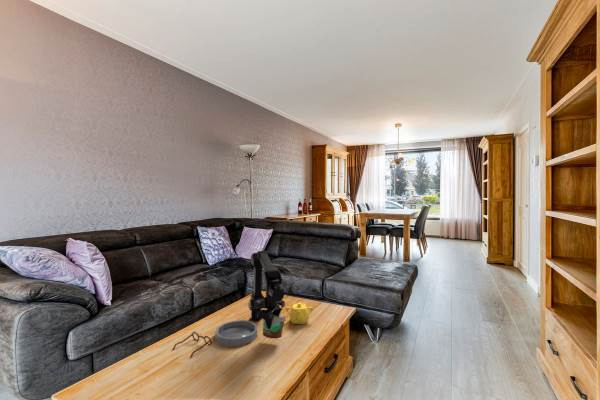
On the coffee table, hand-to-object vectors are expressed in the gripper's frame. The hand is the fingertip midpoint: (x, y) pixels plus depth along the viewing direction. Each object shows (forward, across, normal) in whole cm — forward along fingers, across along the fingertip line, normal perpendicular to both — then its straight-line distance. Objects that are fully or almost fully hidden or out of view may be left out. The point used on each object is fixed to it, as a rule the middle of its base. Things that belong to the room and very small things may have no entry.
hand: (271, 326), depth 144 cm
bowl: (+8, 0, -20) cm, 22 cm away
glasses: (+9, +18, -33) cm, 39 cm away
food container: (+5, +1, 0) cm, 5 cm away
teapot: (+8, -27, +4) cm, 29 cm away
